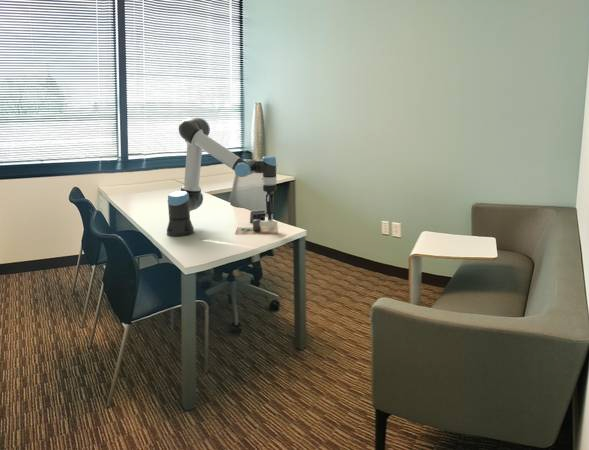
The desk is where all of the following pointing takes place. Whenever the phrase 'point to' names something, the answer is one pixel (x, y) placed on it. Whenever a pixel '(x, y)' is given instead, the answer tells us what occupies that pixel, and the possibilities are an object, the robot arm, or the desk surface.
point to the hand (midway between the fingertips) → (270, 224)
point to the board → (250, 231)
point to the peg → (261, 224)
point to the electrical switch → (257, 215)
